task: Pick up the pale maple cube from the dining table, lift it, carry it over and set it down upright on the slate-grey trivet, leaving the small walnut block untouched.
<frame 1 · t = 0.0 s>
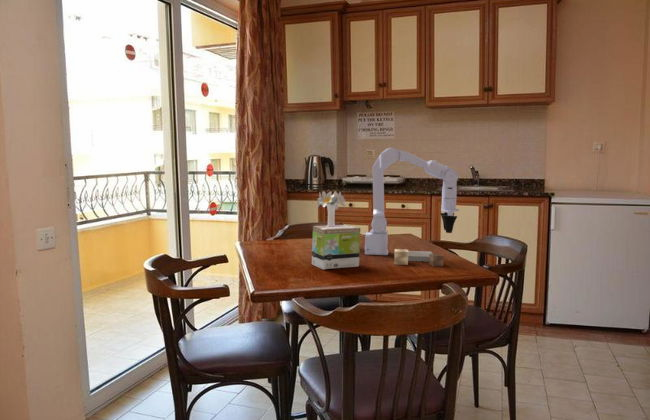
hand: (447, 231, 206), 10 cm above the table, tool pointing down, fingers open, 7 cm apart
walnut block: (436, 265, 189), on the table
flower vase: (329, 246, 226), on the table
trivet: (418, 258, 201), on the table
tea box: (335, 266, 186), on the table
maple cube: (401, 263, 192), on the table
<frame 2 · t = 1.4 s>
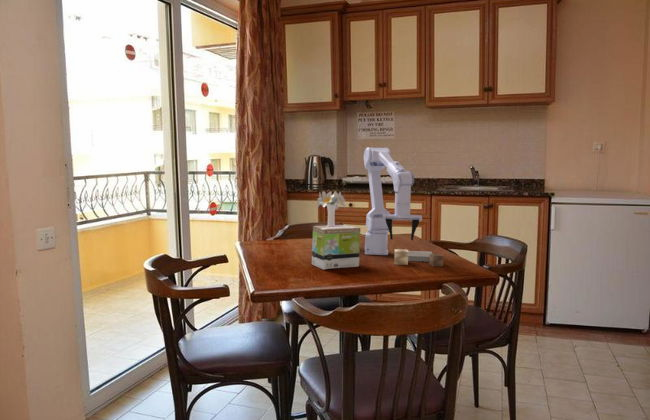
hand: (401, 239, 191), 9 cm above the table, tool pointing down, fingers open, 7 cm apart
nothing on the table moved.
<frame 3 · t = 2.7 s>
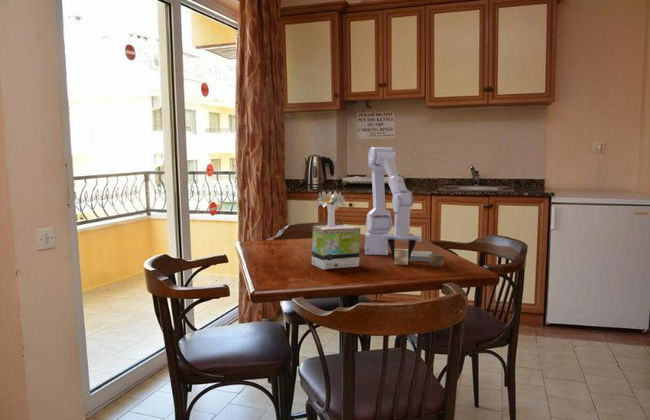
hand: (401, 259, 192), 1 cm above the table, tool pointing down, fingers closed on maple cube, 5 cm apart
maple cube: (401, 263, 192), on the table, touching gripper
everything else where it was.
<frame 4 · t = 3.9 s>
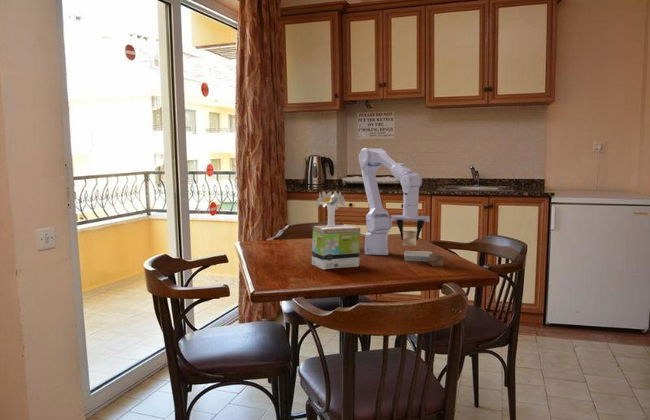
hand: (409, 239, 195), 8 cm above the table, tool pointing down, fingers closed on maple cube, 5 cm apart
maple cube: (409, 244, 195), point 7 cm above the table, touching gripper
everything else where it was.
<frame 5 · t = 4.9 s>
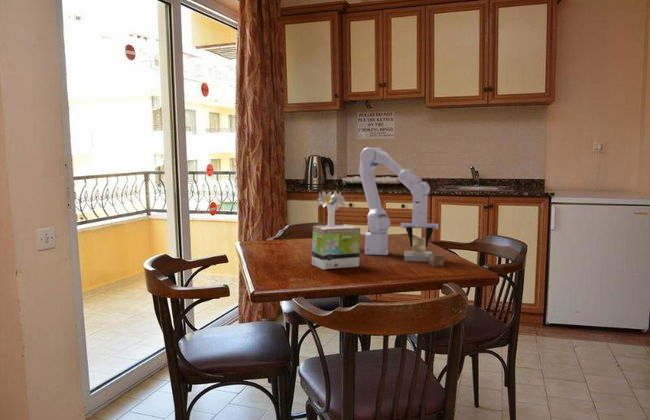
hand: (418, 246, 200), 5 cm above the table, tool pointing down, fingers closed on maple cube, 5 cm apart
maple cube: (418, 251, 200), point 3 cm above the table, touching gripper
everything else where it was.
when the fingers open (5 cm above the table, at t = 5.4 s): maple cube stays where it is, resting on trivet.
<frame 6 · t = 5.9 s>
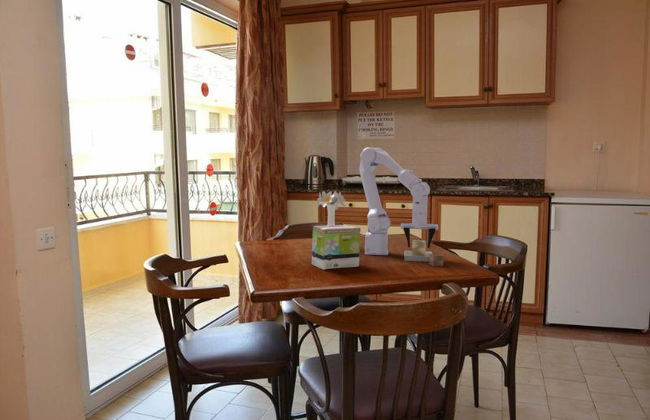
hand: (418, 247, 200), 5 cm above the table, tool pointing down, fingers open, 7 cm apart
maple cube: (418, 253, 200), point 2 cm above the table, touching trivet
everything else where it was.
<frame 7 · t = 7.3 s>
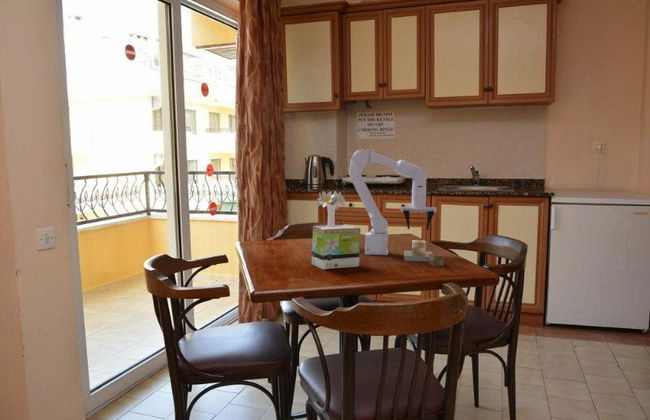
hand: (417, 229, 210), 10 cm above the table, tool pointing down, fingers open, 7 cm apart
nothing on the table moved.
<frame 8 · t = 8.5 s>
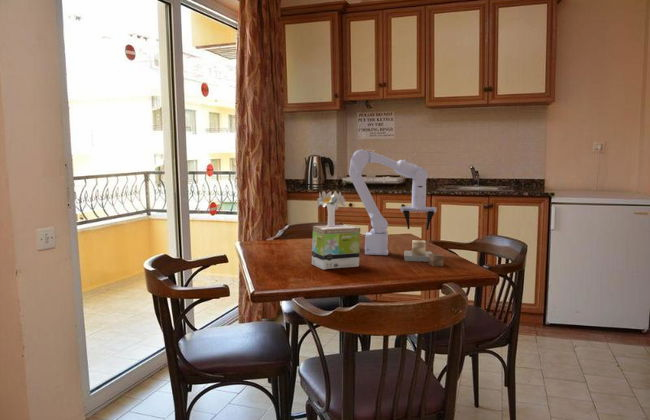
hand: (417, 229, 210), 10 cm above the table, tool pointing down, fingers open, 7 cm apart
nothing on the table moved.
at the end: maple cube inside the target area on the trivet (0.3 cm from its centre), point 2.0 cm above the trivet's base; maple cube tilted 0°; the gripper is holding nothing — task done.
